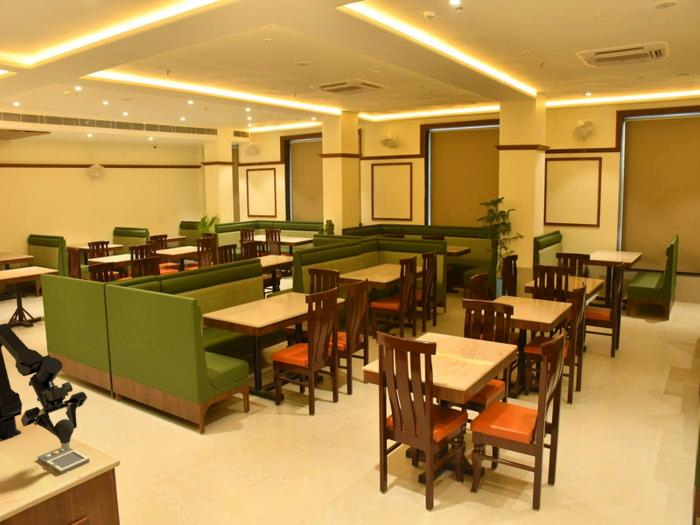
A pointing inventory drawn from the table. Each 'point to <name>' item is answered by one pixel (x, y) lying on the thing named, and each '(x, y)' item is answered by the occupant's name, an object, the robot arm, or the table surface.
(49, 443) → the table surface
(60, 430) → the light bulb
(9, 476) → the table surface
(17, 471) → the table surface
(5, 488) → the table surface
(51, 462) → the indicator board
